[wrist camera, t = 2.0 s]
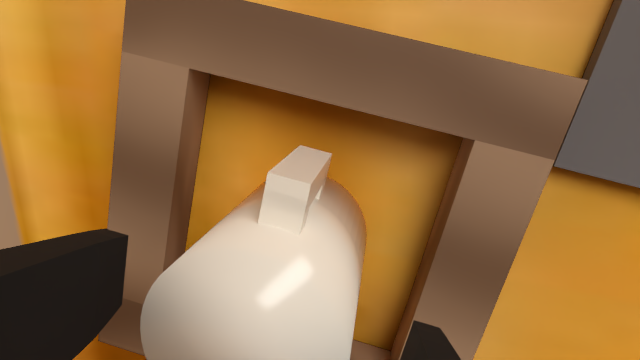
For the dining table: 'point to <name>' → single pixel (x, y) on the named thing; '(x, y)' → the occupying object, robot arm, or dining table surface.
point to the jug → (266, 275)
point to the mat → (609, 104)
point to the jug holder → (346, 91)
